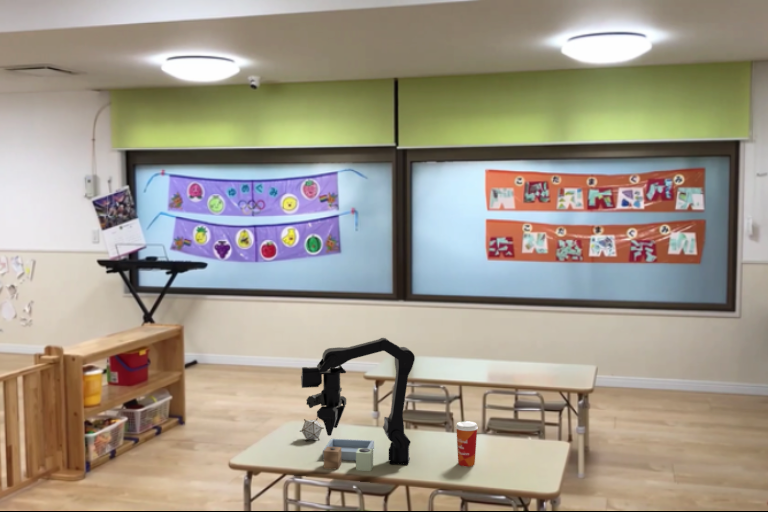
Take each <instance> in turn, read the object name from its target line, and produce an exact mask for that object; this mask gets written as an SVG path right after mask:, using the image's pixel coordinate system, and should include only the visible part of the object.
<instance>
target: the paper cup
mask: <svg viewBox="0 0 768 512" xmlns="http://www.w3.org/2000/svg"><path fill="white" fill-rule="evenodd" d="M478 429H479V428H478V424H477V423H476V422H475V421H469V420H468V421H467V420H466V421H459V422H458V421H457V423H456V425H455V430H456V446H457V461H458V462H457V463H458V466H461V467H464V468H465V467H466V468H469V467H474V466H475V464H476V454H477V453H476V451H477V450H476V449H477V448H476V447H477V438H478V437H477V433H478ZM473 465H474V466H473Z"/></svg>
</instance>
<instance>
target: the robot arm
mask: <svg viewBox="0 0 768 512" xmlns="http://www.w3.org/2000/svg"><path fill="white" fill-rule="evenodd" d="M380 352H385V353H387V354H388V355H390V356H391V357H394V367H395V368H394V369H395V380H394V386H393V387H394V388H393V393H392V399H391V408H390V413H389V414H388V416H384V417H383V418H384V419H383V422H384V423H383V425H382V429H383V430H384V434H385V436H386V437H387V438H388V440H389V441H390V442H391V443H390V445H389V447H388V461H389V464H390V465H409V462H410V460H411V457H410V445H411V440H410V439H409V437H408V436H407V435H406V433H405V422H404V417H403V415H404V409H405V402H406V395H407V394H406V392H407V387H408V380H409V376H410V373H411V371H412V369H413V366H414V364H415V359H416V356H415V353H414V352H413V351H412V350H410V349H409V348H407V347H405V346H399V345H397V344H395V343H393V342H392V341H390V340H388V339H387V338H386V337H380V338H378V339H375V340H372V341H371V340H370V341H367V342H363V343H360V344H356V345H352V346H349V347H348V346H346V347H328V348H326V349H325V350H324V352H323V353H322V358H321V360H320V361H319V363H317V365H316V366H313V367H310V366H309V367H307V366H303V367H302V366H301V375H300V383H301V384H300V385H301V389H305V388H306V389H307V388H308V389H309V388H319V386H321V385H322V384H323V386H322V387H323V388H322V390H321V392H320V393H315V394H312V395H308V397H307V399H306V402H305V403H306V405H307V406H308V408H309V409H312V408H314V407H316V406H319V405H320V408H319V409H317V410H316V418H318V419H319V420H321V421H322V422H323V425H324V429H325V430H326V434H327V436H328V437H329V436H330V437H331V436H332V434H333V431H334V429H337V428H338V427H339V424H340V420H341V418H342V415H343V413H344V411H345V408H346V405H347V398H346V397H345V396H343V395H341V392H342V391H343V390H342V389H343V388H342V387H341V374H346V373H347V371H346V369H345V368H343V367H342V365H344V364H346V363H347V362H349V361H351V360H354V359H357V358H361V357H365V356H368V355H369V356H370V355H373V354H376V353H380ZM322 376H323V377H322Z"/></svg>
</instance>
